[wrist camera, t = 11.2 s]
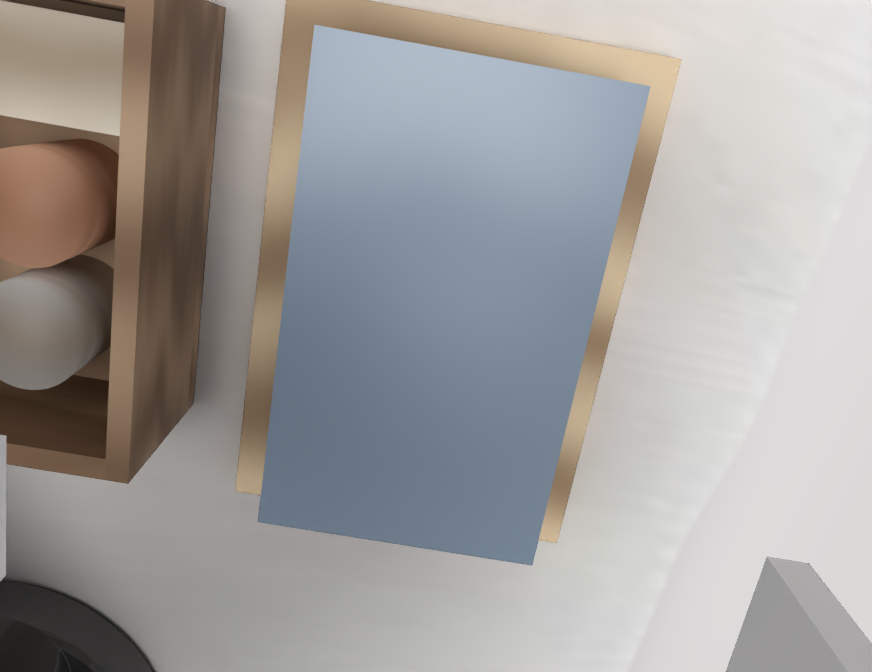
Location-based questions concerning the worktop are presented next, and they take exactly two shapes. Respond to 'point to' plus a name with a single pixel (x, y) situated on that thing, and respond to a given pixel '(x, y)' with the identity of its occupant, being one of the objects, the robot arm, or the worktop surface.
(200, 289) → the walnut spice box
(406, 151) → the slate lid
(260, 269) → the oak cutting board
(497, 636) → the worktop surface
